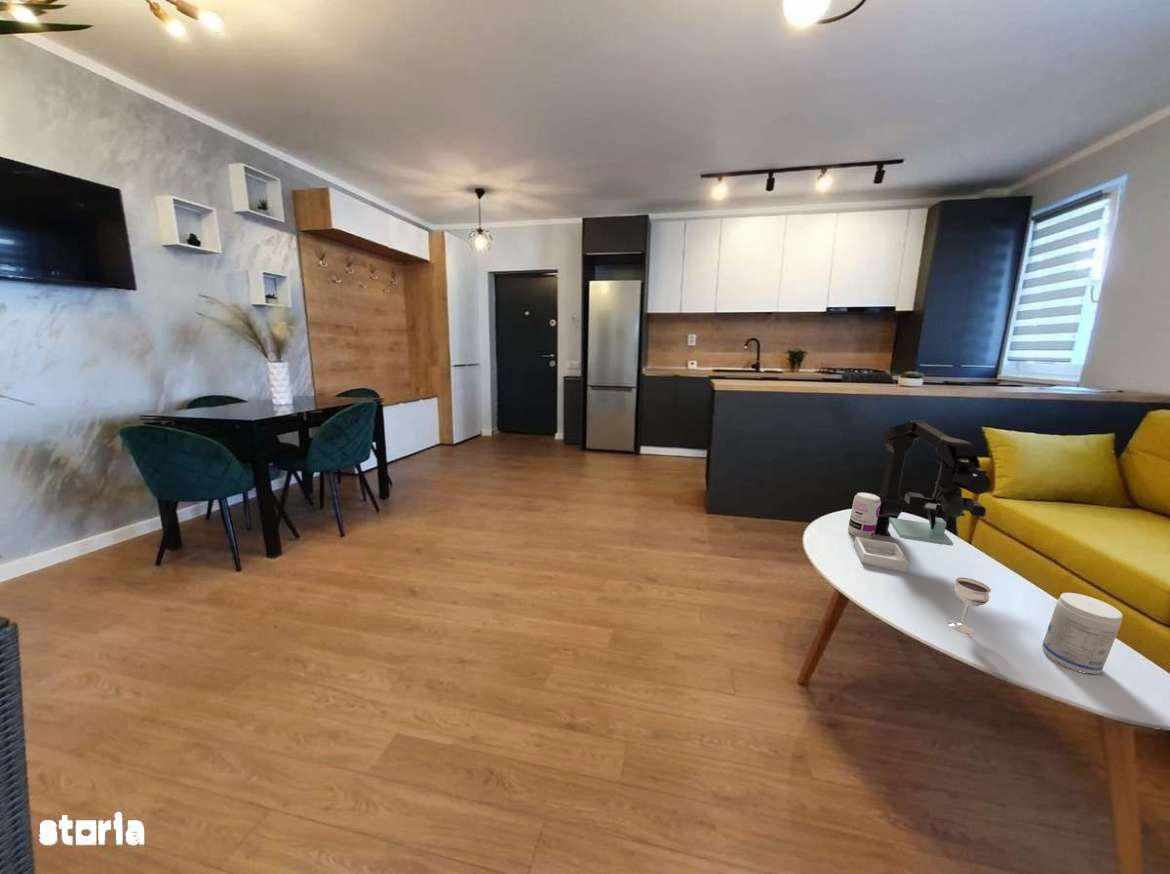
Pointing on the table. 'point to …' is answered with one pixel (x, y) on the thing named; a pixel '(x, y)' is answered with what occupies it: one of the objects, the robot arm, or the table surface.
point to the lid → (922, 531)
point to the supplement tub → (1081, 632)
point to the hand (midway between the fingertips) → (937, 529)
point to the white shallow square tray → (880, 554)
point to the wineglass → (969, 599)
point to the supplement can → (864, 515)
